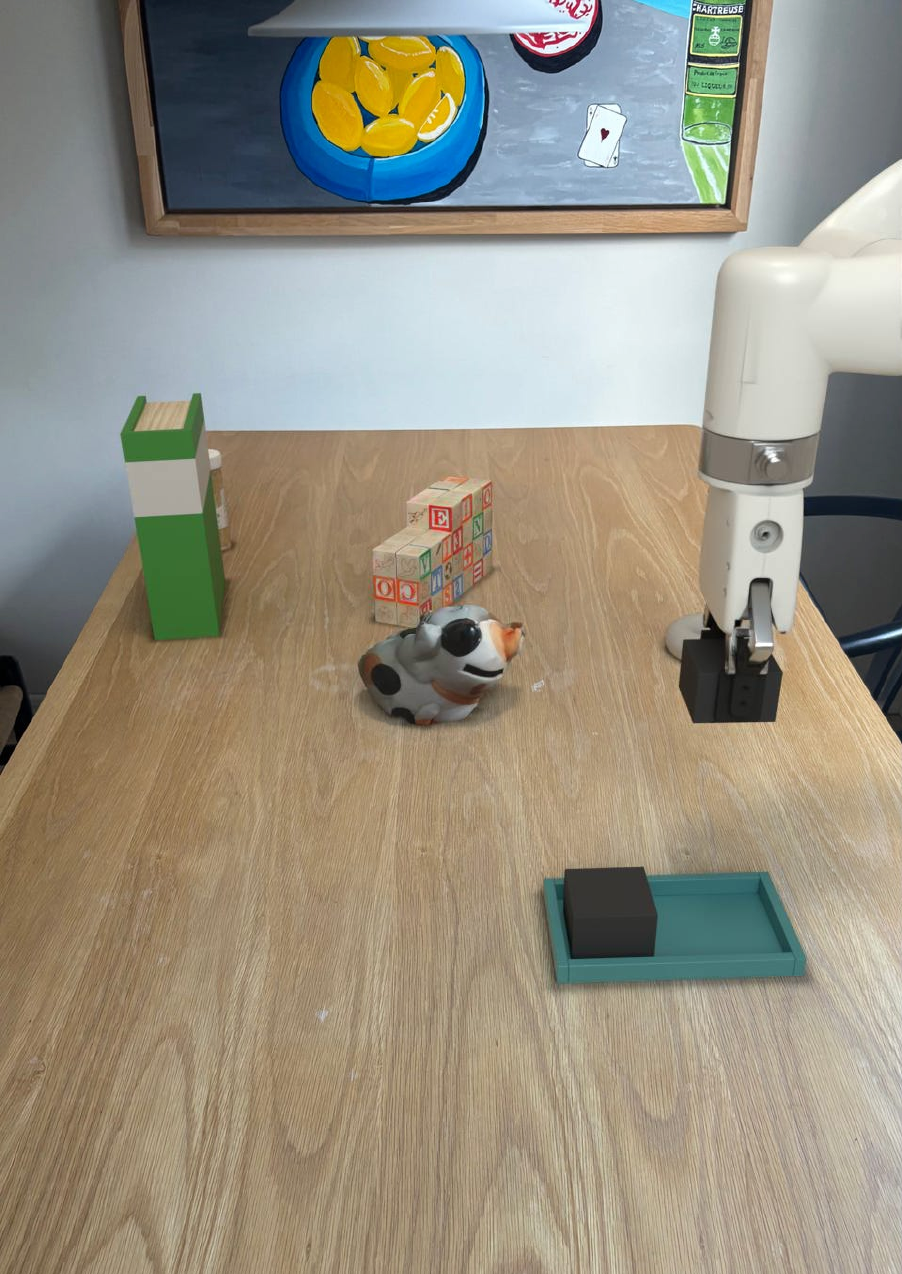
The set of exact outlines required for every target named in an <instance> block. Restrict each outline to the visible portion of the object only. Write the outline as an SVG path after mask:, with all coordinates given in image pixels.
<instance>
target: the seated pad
mask: <svg viewBox="0 0 902 1274" xmlns="http://www.w3.org/2000/svg"><path fill="white" fill-rule="evenodd" d="M563 875H564V876H563V878H564V894H563V914H564V920H565V926H566V931H567V937H568V943H569V949H570V954H571V959H595V958H627V957H654V950H655V940H656V929H657V919H658V914H657V911H656V907H655V904H654V900H653V897H652V893H651V890H650V886H649V883H648V880H647V876H646V875H647V873H646V870H645V867H644V866H617V867H586V868H564V873H563Z"/></svg>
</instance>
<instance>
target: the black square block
mask: <svg viewBox="0 0 902 1274" xmlns="http://www.w3.org/2000/svg"><path fill="white" fill-rule="evenodd" d="M725 641H726V639H684V640H683V647H682V657H681V660H680V668H679V678H678V688H679V691H680V694H681V696H682V699H683V702H684V704H685V707H686V709H687V712H688V714H689V716H690V719H691V722H692V724H720V723H719V722H717V721H716V719H715V716H714V713H715V705H716V696H717V688H718V679H719V671H720V669H725ZM748 642H749V638H737V654H738V652H739V651H740V649H741V648H742V647H747V646H748V645H747V643H748ZM783 675H784V673H783V670H782V668H781V667H780V664H779V663H778V662H777V660H776V658H775V657H774V655H773V653H772V654H771V655H770V660H768V672H767V675H766V682H765V689H764V696H763V703H762V710H761V717H760V719H759V720H758V721H757V722H756V723H776V722H777V721H776V720H777V714H778V707H779V700H780V694H781V687H782V681H783ZM742 723H744V724H745V723H747V724H748V723H749V722H735V723H734V724H742Z"/></svg>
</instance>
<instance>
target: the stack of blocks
mask: <svg viewBox="0 0 902 1274" xmlns="http://www.w3.org/2000/svg"><path fill="white" fill-rule="evenodd" d="M405 502H406V504H405V505H406V527H404V528H403V529H401V530H400V531H398V532H397V533H395V534H393V535H392V536H391V537H389V538H387V539H385V540H384V541H383V542H382V543H380V544H379V545H377V546H376V547H374V548H373V549H372V553H371V554H372V571H373V575H372V588H373V589H372V590H373V599H374V600H373V602H374V603H373V604H374V618H375V619H374V621H375V622H378V623H382V624H389V625H396V626H400V627H405V628H410V629H412V628H416V627H417V625H418V624H419V622H420V616H421V615H422V613H424V612H425V611H427V610H432V611H433V612H434V611H436V610H437V609H440V608H442V607H450V605H452V604H453V603H454V601H456V600H457V599H458V598H460V597H461V596H462V595H463V594H464V593H466V592H467V590H469V589H470V588H471V587H472V586H474V585H475V584H477V583H478V582H479V581H481V580H482V579H483V578H484V577H485V576H486V575H488V574H489V573H490V572H491V571H493V521H494V520H493V512H494V511H493V480H490V479H482V478H473V477H465V476H464V477H463V476H456V475H455V476H453V475H447V476H445V477H444V478H443V479H441V480H437V481H436V482H434V483H432V484H431V485H429V486H428V487H427V488H425V489H423V490H422V491H420V492H419V493H417V494H416V495H414V496H413V497H411V498H410V499H408V500H407V501H405Z"/></svg>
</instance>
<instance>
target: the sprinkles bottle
mask: <svg viewBox="0 0 902 1274" xmlns="http://www.w3.org/2000/svg"><path fill="white" fill-rule="evenodd" d="M208 452H209V460H210V468H211V475H212V483H213V491H214V499H215V506H216V514H217V522H218V530H219V537H220V545H221V552H224V551H226V550H229V549H230V548H231V547H232V542H231V539H230V531H229V520H228V519H229V518H228V511H227V503H226V495H225V487H224V482H223V477H222V476H223V474H222V473H223V472H222V465H223V464H222V456H221V452H220V451H219V450H217V449H212V448H208Z"/></svg>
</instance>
